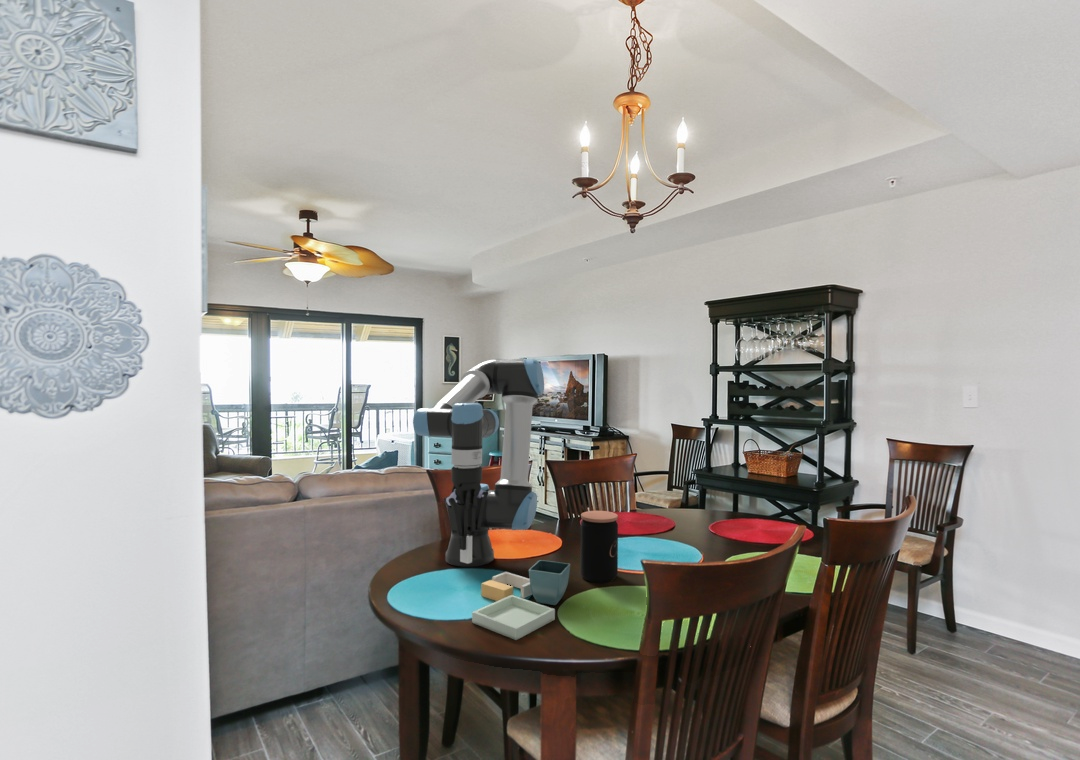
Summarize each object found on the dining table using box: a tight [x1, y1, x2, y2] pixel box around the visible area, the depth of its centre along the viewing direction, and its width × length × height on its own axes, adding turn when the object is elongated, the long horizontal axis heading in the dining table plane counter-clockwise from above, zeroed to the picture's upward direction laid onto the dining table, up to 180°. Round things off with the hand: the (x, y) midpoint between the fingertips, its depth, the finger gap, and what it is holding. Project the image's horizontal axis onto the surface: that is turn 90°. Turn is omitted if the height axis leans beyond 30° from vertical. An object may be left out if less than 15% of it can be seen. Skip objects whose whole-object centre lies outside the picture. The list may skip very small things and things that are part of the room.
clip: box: [491, 571, 533, 599], centre depth 154 cm, size 11×6×3 cm, turn 51°
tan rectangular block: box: [480, 579, 514, 602], centre depth 149 cm, size 8×4×4 cm, turn 52°
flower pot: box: [528, 559, 571, 606], centre depth 147 cm, size 9×9×9 cm
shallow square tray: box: [471, 594, 556, 641], centre depth 134 cm, size 14×14×2 cm
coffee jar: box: [580, 510, 619, 584], centre depth 164 cm, size 11×11×18 cm
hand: (466, 561), depth 140 cm, fingers closed
